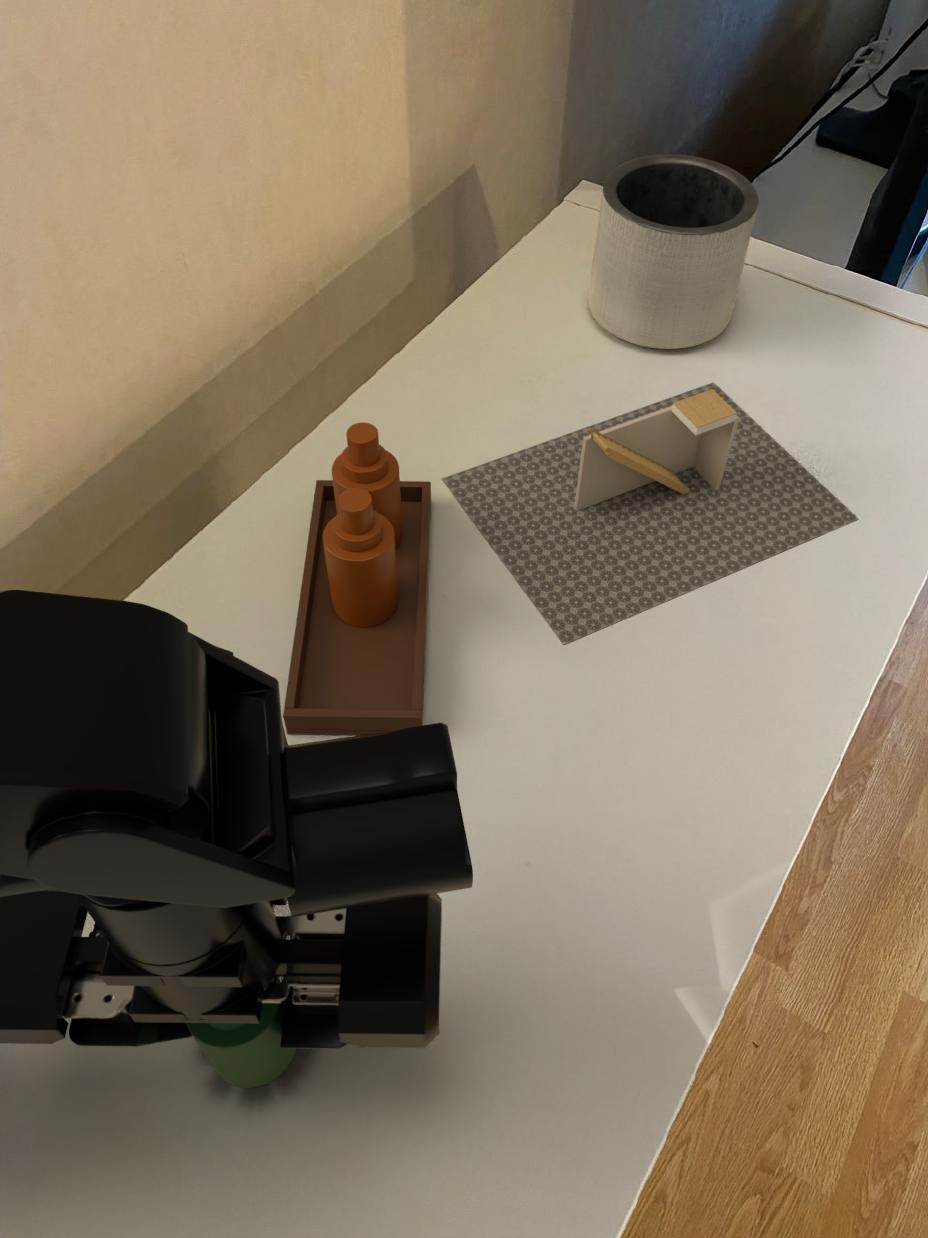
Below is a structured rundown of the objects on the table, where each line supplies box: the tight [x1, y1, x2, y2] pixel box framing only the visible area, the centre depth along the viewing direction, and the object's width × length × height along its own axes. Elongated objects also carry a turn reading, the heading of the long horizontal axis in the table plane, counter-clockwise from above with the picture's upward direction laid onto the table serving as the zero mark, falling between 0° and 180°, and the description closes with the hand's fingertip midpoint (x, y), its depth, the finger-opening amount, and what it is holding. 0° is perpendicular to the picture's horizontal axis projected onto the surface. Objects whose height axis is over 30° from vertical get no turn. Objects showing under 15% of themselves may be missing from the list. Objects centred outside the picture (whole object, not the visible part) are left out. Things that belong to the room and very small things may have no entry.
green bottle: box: [186, 977, 297, 1089], centre depth 47 cm, size 4×4×10 cm
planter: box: [587, 154, 760, 350], centre depth 85 cm, size 13×13×11 cm
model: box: [573, 388, 740, 511], centre depth 72 cm, size 3×11×8 cm, turn 118°
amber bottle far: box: [331, 422, 403, 550], centre depth 68 cm, size 4×4×10 cm
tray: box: [282, 479, 432, 736], centre depth 67 cm, size 20×8×2 cm, turn 0°
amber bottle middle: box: [323, 488, 398, 627], centre depth 64 cm, size 4×4×10 cm
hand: (246, 1024), depth 48 cm, fingers closed on green bottle, 4 cm apart
